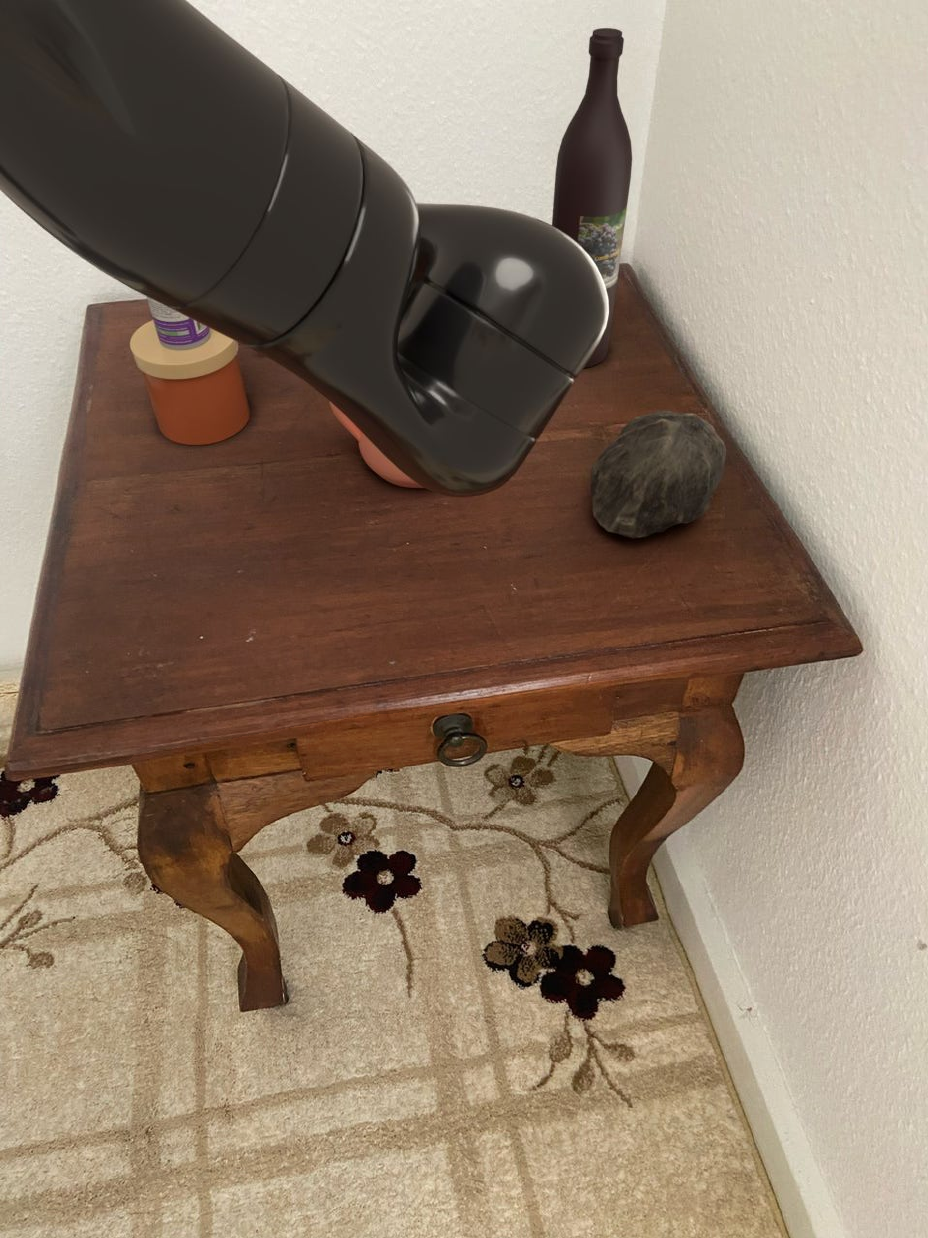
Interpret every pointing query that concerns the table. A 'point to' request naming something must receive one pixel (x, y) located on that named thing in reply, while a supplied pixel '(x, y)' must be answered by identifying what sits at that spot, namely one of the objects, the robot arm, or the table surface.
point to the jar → (193, 387)
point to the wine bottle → (597, 171)
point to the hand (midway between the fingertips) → (128, 123)
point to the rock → (657, 474)
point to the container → (177, 328)
